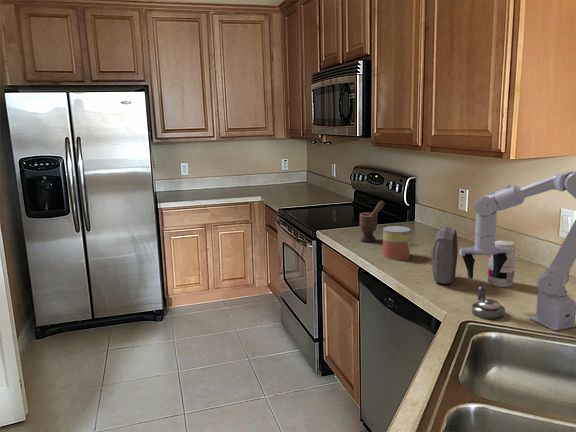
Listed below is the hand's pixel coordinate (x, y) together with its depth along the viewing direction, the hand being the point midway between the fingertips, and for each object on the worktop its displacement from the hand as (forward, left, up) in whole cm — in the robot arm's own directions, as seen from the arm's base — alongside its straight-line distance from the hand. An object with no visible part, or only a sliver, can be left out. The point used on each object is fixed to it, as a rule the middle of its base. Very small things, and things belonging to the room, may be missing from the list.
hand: (482, 277), depth 146 cm
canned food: (+58, -5, -10) cm, 59 cm away
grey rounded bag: (+25, -4, -10) cm, 27 cm away
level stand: (-5, +2, -9) cm, 11 cm away
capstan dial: (-4, +2, -7) cm, 8 cm away
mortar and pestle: (+85, -8, -10) cm, 85 cm away
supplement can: (+14, -20, -10) cm, 26 cm away
